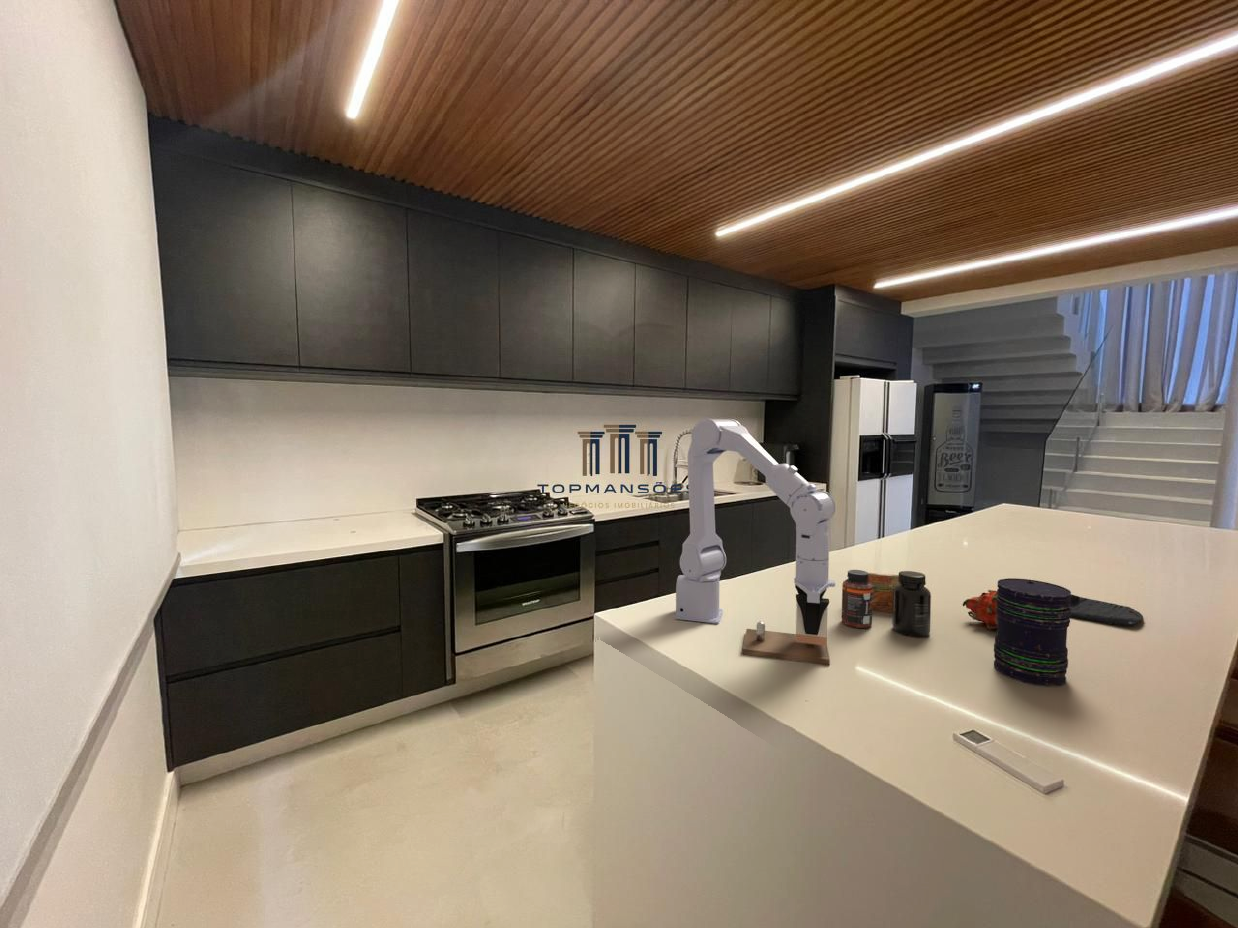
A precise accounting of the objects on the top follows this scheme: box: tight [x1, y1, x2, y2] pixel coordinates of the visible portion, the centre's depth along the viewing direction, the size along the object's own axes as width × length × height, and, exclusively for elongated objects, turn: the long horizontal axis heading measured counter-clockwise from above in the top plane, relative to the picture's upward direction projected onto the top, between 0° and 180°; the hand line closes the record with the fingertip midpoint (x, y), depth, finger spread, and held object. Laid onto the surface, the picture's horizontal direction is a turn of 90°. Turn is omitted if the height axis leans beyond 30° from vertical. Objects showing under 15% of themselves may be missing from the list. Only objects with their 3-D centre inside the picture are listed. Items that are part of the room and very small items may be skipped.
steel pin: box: [756, 621, 766, 642], centre depth 99 cm, size 2×2×4 cm
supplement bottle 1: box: [841, 569, 874, 629], centre depth 109 cm, size 6×6×11 cm
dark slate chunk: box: [1070, 593, 1144, 627], centre depth 116 cm, size 15×22×5 cm
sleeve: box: [795, 600, 828, 646], centre depth 96 cm, size 5×5×7 cm
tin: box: [868, 572, 899, 614], centre depth 117 cm, size 15×3×8 cm, turn 68°
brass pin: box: [806, 643, 815, 648], centre depth 96 cm, size 2×2×4 cm
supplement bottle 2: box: [891, 570, 932, 638], centre depth 105 cm, size 7×7×12 cm
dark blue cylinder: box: [993, 577, 1072, 688], centre depth 87 cm, size 10×10×15 cm
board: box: [742, 628, 831, 666], centre depth 98 cm, size 15×10×1 cm, turn 72°
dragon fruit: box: [962, 589, 998, 631], centre depth 106 cm, size 8×8×12 cm
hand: (810, 628), depth 96 cm, fingers closed on sleeve, 5 cm apart
